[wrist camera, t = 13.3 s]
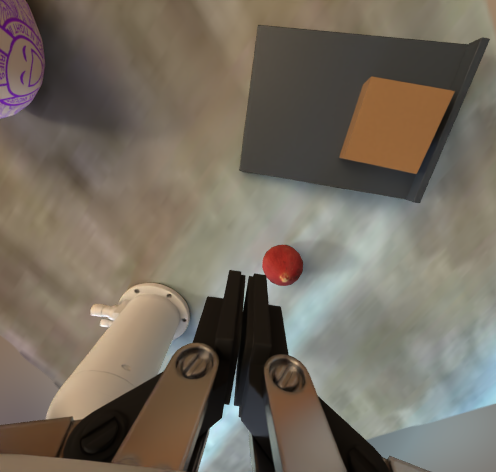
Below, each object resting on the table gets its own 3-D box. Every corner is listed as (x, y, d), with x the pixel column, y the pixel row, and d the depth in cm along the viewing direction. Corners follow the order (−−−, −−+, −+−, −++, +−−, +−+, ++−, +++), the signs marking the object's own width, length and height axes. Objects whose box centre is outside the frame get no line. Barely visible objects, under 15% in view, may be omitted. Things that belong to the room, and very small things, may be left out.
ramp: (239, 169, 33) (236, 175, 27) (257, 28, 27) (258, -2, 21) (392, 193, 33) (419, 203, 28) (442, 60, 28) (490, 38, 22)
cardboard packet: (335, 156, 29) (347, 159, 25) (359, 83, 26) (377, 72, 22) (399, 170, 29) (420, 174, 26) (429, 99, 26) (459, 91, 23)
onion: (304, 245, 37) (317, 271, 29) (288, 274, 39) (296, 305, 31) (271, 231, 36) (275, 254, 29) (256, 261, 38) (256, 290, 31)
